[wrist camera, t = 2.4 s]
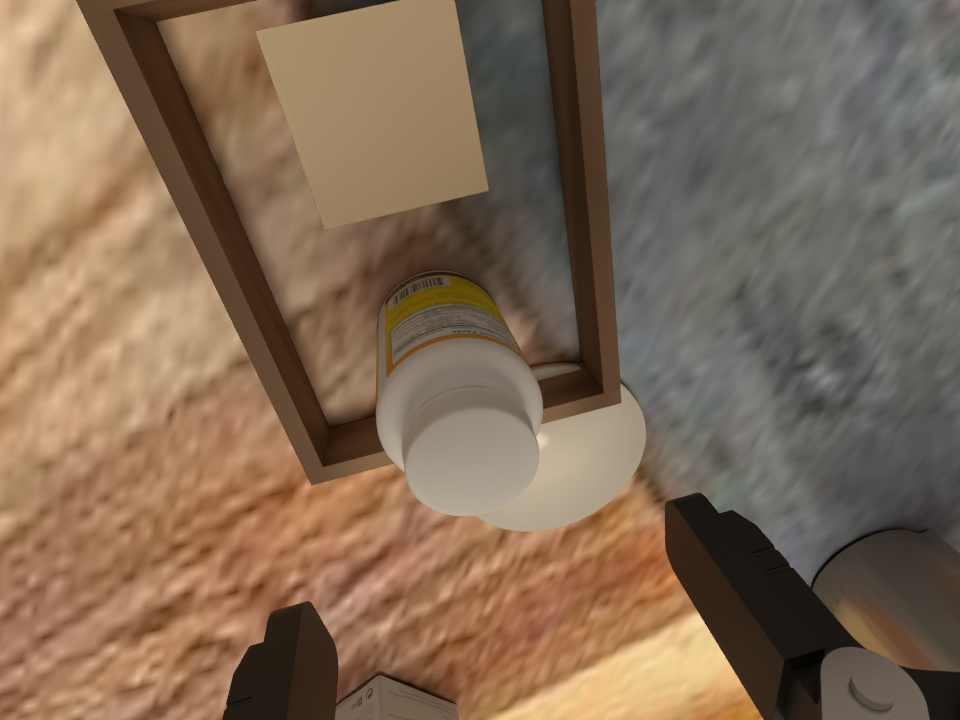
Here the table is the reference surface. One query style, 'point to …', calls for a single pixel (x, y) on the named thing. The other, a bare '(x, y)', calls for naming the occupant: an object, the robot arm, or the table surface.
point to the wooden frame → (237, 274)
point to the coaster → (576, 463)
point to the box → (378, 108)
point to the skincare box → (394, 703)
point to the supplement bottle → (455, 395)
